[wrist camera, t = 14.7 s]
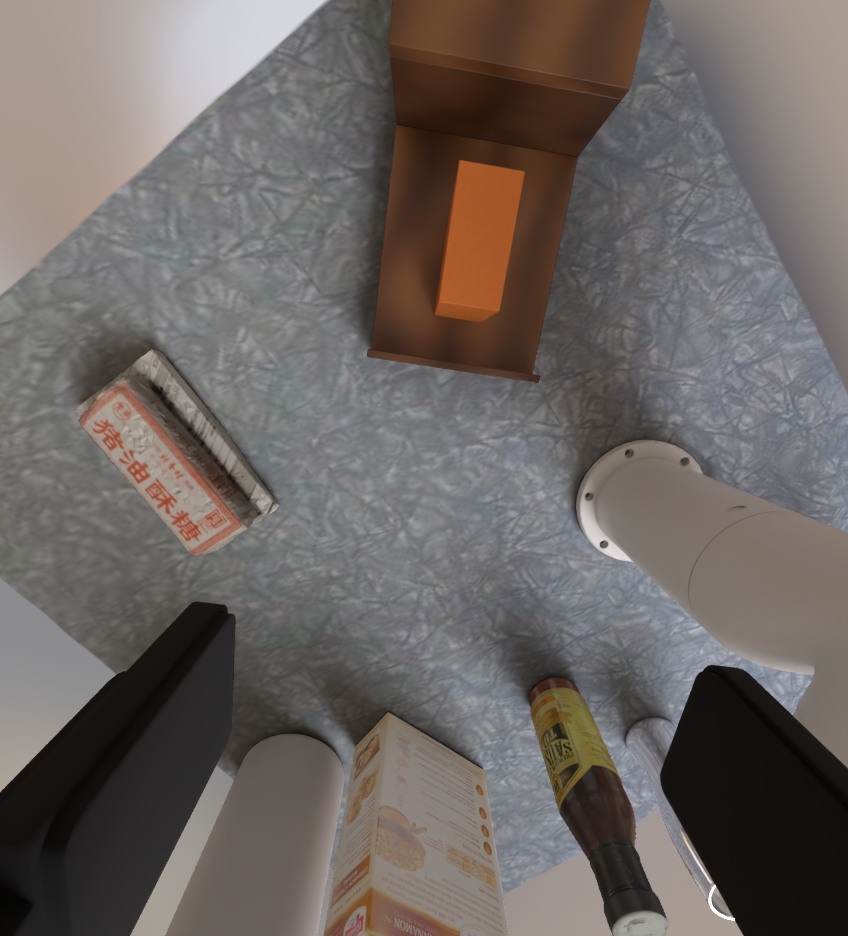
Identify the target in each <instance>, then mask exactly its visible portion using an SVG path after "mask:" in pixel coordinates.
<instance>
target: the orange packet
mask: <svg viewBox="0 0 848 936" xmlns="http://www.w3.org/2000/svg"><path fill="white" fill-rule="evenodd" d="M524 174H525V172H524V171H520V170H515V169H509V168H503V167H498V166H492V165H487V164H481V163H475V162H470V161H464V160H460V161H459V164H458V170H457V175H456V180H455V185H454V190H453V196H452V201H451V206H450V212H449V219H448V225H447V232H446V239H445V246H444V253H443V260H442V266H441V273H440V280H439V287H438V294H437V301H436V307H435V315H436V316H442V317H449V318H455V319H461V320H467V321H474V322H480V323H481V322H483V321H484V320H486V319H488V318H489V317H491V316H492V315H494V314H495V313H497V312H499V310H500V305H501V299H502V294H503V288H504V283H505V278H506V272H507V267H508V261H509V256H510V250H511V245H512V239H513V234H514V229H515V223H516V218H517V212H518V207H519V201H520V196H521V191H522V185H523V180H524Z"/></svg>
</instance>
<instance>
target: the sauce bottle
mask: <svg viewBox="0 0 848 936" xmlns="http://www.w3.org/2000/svg"><path fill="white" fill-rule="evenodd" d="M530 708H531V717H532V721H533V724H534V727H535V731H536V734H537V738H538V741H539V744H540V748H541V751H542V755H543V758H544V761H545V764H546V768H547V771H548V775H549V778H550V781H551V785H552V788H553V792H554V795H555V799H556V803H557V806H558V809H559V812H560V815H561V817H562V818H563V819H564V821H565V823H566V824H567V826H568V827H569V829H570V831H571V832H572V834H573V835H574V837H575V839H576V840H577V842H578V844H579V845H580V847H581V848H582V850H583V852H584V853H585V855H586V856H587V858H588V860H589V861H590V866H591V868H592V870H593V872H594V874H595V877H596V880H597V883H598V886H599V890H600V892H601V895H602V898H603V901H604V913H605V916H606V918H607V922H608V924H609V927H610V930H611V932H612V935H613V936H664V935H665V934H666V931H667V929H668V920H667V918H666V915H665V913H664V910H663V908H662V905H661V903H660V901H659V899H658V897H657V896H656V895H655V893H654V892H653V891H652V889H651V886H650V883H649V881H648V879H647V877H646V874H645V872H644V870H643V867H642V865H641V862H640V857H639V855H638V853H637V851H636V849H635V847H634V845H635V843H634V842H635V839H636V837H635V835H636V832H635V828H636V826H635V817H634V812H633V809H632V806H631V803H630V801H629V799H628V797H627V795H626V793H625V791H624V788H623V786H622V781H621V779H620V777H619V774H618V772H617V770H616V768H615V765H614V763H613V761H612V759H611V757H610V755H609V752H608V750H607V748H606V746H605V744H604V742H603V739H602V737H601V735H600V733H599V730H598V728H597V726H596V724H595V721H594V719H593V717H592V715H591V713H590V711H589V708H588V706H587V704H586V702H585V699H584V698H583V697H582V696H581V694H580V692H579V690H578V688H577V687H576V686H575V684H573V683H572V682H571V681H569V680H566V679H563V678H549V679H546V680H544V681H542V682H540V683H539V684H538V685H537V686H535V688H534V689H533V690H532V692H531V694H530Z"/></svg>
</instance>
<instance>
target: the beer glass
mask: <svg viewBox="0 0 848 936" xmlns="http://www.w3.org/2000/svg"><path fill="white" fill-rule="evenodd" d="M675 732H676V728H675V727H674V726H673V724H672V723H670V722H669V721H667V720H665V719H663V718H658V717H651V718H646V719H643V720H640V721H639V722H637V723H635V724H634V725H633V726H632V727H631V728H630V730H629V731H628V733H627V736H626V745H627V748H628V750H629V751H630V753H631V754H632V755H633V757H634V758H635V759H636V761H637V762H638V763H639V764H640V766H641V767H642V769H643V770H644V772H645V774H646V776H647V778H648V780H649V782H650V784H651V787H652V790H653V792H654V795H655V798H656V801H657V804H658V806H659V809H660V812H661V815H662V817H663V820H664V822H665V825H666V827H667V830H668V832H669V835H670V837H671V839H672V841H673V843H674V845H675V847H676V849H677V851H678V853H679V855H680V857H681V858H682V860H683V862H684V864H685V865H686V867H687V869H688V871H689V872H690V874H691V876H692V877H693V879H694V881H695V883H696V884H697V886H698V887H699V889H700V891H701V892H702V894H703V896H704V897H705V899H706V901H707V902H708V904H709V907H710V908H711V910H712V911H713V912H714V913H715V914H717V915H718V916H720V917H722V918H725V919H728V920H735V919H734V918H733V916H732V914H731V912H730V911H729V909H728V907H727V905H726V903H725V902H724V900H723V898H722V896H721V895H720V893H719V891H718V889H717V887H716V886H715V884H714V882H713V880H712V879H711V877H710V875H709V873H708V871H707V870H706V868H705V866H704V864H703V863H702V861H701V859H700V857H699V855H698V854H697V852H696V850H695V848H694V847H693V845H692V843H691V841H690V839H689V838H688V836H687V834H686V832H685V831H684V829H683V827H682V825H681V823H680V822H679V820H678V818H677V816H676V815H675V813H674V811H673V809H672V807H671V806H670V804H669V802H668V800H667V799H666V797H665V795H664V793H663V790H662V787H661V782H660V772H661V769H662V766H663V764H664V761H665V758H666V756H667V753H668V750H669V748H670V745H671V742H672V740H673V737H674V734H675Z"/></svg>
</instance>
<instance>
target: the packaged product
mask: <svg viewBox="0 0 848 936" xmlns="http://www.w3.org/2000/svg"><path fill="white" fill-rule="evenodd" d="M74 410H75V411H76V412H77V413H78V414H79V415H80V416H81V417H80V419H79V420H78V421H79V423H80V425H81V426H82V427H83V428H84V429H85V431H86V432H87V433H88V434H89V436H90V437H91V438H92V439H93V441H94V442H95V443H96V444H97V445H98V446H99V448H100V449H101V450H102V451H103V452H104V453H105V454H106V456H107V457H108V458H109V459H110V460H111V462H112V463H113V464H114V465H115V466H116V467H117V468H118V469H119V471H120V472H121V473H122V474H123V475H124V476H125V478H126V479H127V480H128V481H129V482H130V483H131V484H132V486H133V487H134V488H135V489H136V490H137V491H138V493H139V494H140V495H141V496H142V497H143V498H144V500H145V501H146V502H147V503H148V504H149V505H150V507H151V508H152V509H153V510H154V511H155V512H156V513H157V515H158V516H159V517H160V518H161V520H163V522H164V523H165V524H166V525H167V526H168V528H169V529H170V530H171V531H172V532H173V534H174V535H175V536H176V537H177V538H178V540H180V542H181V543H182V544H183V545H184V547H185V548H186V549H187V550H188V551H189V552H190V553H191V554H193V555H199V554H200V555H201V556H202V557H203V556H205V555H206V554H208V553H213V552H214V551H218V550H219V549H221V548H222V547H223V546H225V545H226V544H228V543H229V542H231V541H232V540H234V539H235V537H236V536H237V535H238V534H240V533H242V532H243V531H245V530H247V529H248V528H249V527H251V526H252V525H253V524H255V523H257V522H258V521H260V520H261V519H263V518H264V517H266V516H267V515H269V514H270V513H272V512H274V511H275V510H276V509H277V507H278V506H279V503H278V502H277V501H276V499H275V498H274V497H273V496H272V494H271V493H270V492H269V491H268V489H267V488H266V487H265V486H264V484H263V483H262V482H261V480H260V479H259V478H258V476H257V475H256V473H255V472H254V470H253V469H252V468H251V466H250V465H249V463H248V462H247V460H246V459H245V458H244V456H243V455H242V453H241V452H240V451H239V449H238V448H237V446H236V445H235V443H234V442H233V441H232V439H231V438H230V436H229V435H228V433H227V432H226V431H225V429H224V428H223V427H222V426H221V425H220V423H219V422H218V421H217V420H216V419H215V417H214V416H213V415H212V414H211V413H210V411H209V410H208V409H207V408H206V407H205V405H204V404H203V403H202V402H201V400H200V399H199V398H198V397H197V396H196V394H195V393H194V392H193V391H192V389H191V388H190V387H189V386H188V384H187V383H186V382H185V381H184V380H183V378H182V377H181V376H180V375H179V373H178V372H177V371H176V370H175V368H174V367H173V366H172V365H171V364H170V362H169V361H168V360H167V359H166V357H165V356H164V355H163V354H162V352H159V351H156V350H153V349H151V350H150V351H149V352H147V353H146V354H145V355H143V356H142V357H141V358H139V359H138V360H137V361H136V362H135V363H134V364H132V365H131V366H129V367H128V368H127V369H125V370H124V371H123V372H122V373H121V374H119V375H118V376H117V377H116V378H115V379H114V380H112V381H111V382H109V383H108V384H107V385H105V386H104V387H103V388H102V389H100V390H99V391H97V392H96V393H95V394H93V395H92V396H91V397H90V398H88V399H87V400H86V401H84V402H83V404H82V405H80V406H79V407H77V408H76V409H74Z"/></svg>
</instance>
